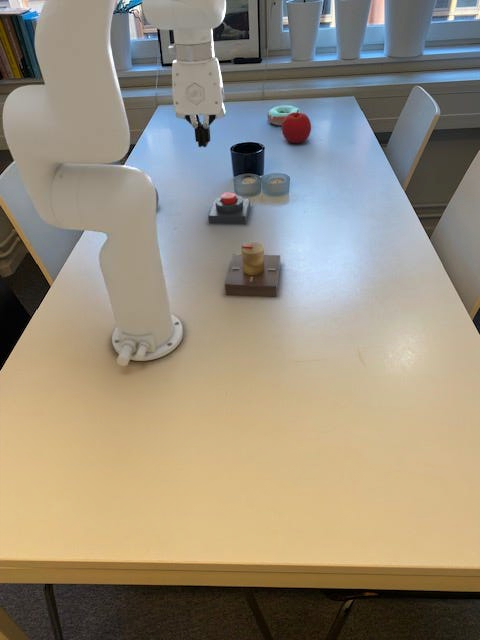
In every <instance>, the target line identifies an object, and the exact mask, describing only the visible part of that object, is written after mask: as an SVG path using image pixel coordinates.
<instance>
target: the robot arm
mask: <svg viewBox="0 0 480 640" xmlns="http://www.w3.org/2000/svg"><path fill="white" fill-rule="evenodd" d="M116 3H117V0H45V1H44V3H43V5H42V7H41V10H40V13H39V16H38V19H37V22H36V28H35V30H34V50H35V51H34V52H35V56H36V59H37V62H38V66H39V70H40V72H41V75H42V79H43V82H44V84H27V85H23V86H19V87H17V88H15V89H14V90H12V91H11V92H10V93H9V94H8V95H7V98H6V100H5V101H4V104H3V109H2V129H3V134H4V138H5V142H6V144H7V147H8V150H9V152H10V155H11V157H12V159H13V161H14V163H15V164H14V165H15V166H16V168H17V171H18V173H19V175H20V177H21V179H22V183H23V184H24V187H25V189H26V191H27V193H28V196H29V198H30V200H31V202H32V204H33V206H34V208H35V210H36V212H37V214H38V215H39V217H40V218H41V220H43V222H44V223H46V224H47V225H49V226H51V227H53V228H56V229H62V230H63V229H64V230H72V231H73V230H74V231H85V232H95V233H102V234H105V235H106V237H107V238H106V240H105V241H104V242H103V244H102V246H101V248H100V250H99V253H98V262H99V267H100V271H101V273H102V277H103V281H104V286H105V288H106V291H107V295H108V298H109V303H110V306H111V309H112V313H113V316H114V320H115V325H116V327H115V328H114V329H113V332H112V335H111V343H112V347H113V349H114V350H115V352H116V353H117V354H118V356H117V359H116V363H117V364H118V365H120V366H123V367H125V366H128V365H129V363H130V360H131V361H135V362H147V361H152V360H156V359H159V358H162V357H164V356H166V355H168V354H170V353H171V352H173V351H174V350H175V349H176V348H177V347H179V345H180V344H181V342H182V339H183V337H184V327H183V324H182V321H181V320H180V319H179V318H178V317H177V316H176V315H174V314H172V311H171V307H170V306H171V305H170V300H169V295H168V290H167V289H168V288H167V284H166V279H165V278H166V277H165V272H164V267H163V262H162V257H161V252H160V245H159V239H158V237H159V236H158V229H157V227H158V226H157V208H156V190H157V189H156V190H155V188H156V186H155V184H154V183H155V182H154V181H153V179H152V177H150V176H149V174H148V173H146V172H145V171H143V170H142V169H139V168H137V167H134V166H129V165H124V164H112V163H115V162H118V161H121V160H122V159H123V158H124V157H125V156H126V155H127V154H128V152H129V150H130V146H131V131H130V125H129V121H128V116H127V113H126V107H125V104H124V98H123V96H122V91H121V86H120V83H119V78H118V74H117V69H116V65H115V61H114V56H113V50H112V44H111V29H112V20H113V17H114V11H115V6H116ZM141 8H142V12H143V15H144V18H145V20H146V21H147V23H148V24H149V25H151V27H153V28H155V29H157V30H162V31H172V32H173V41H174V43H173V44H172V45H169V46H168V48H167V51H168V52H167V53H168V54H172V55H174V58H175V59H174V60H173V61H172V64H171V68H172V69H171V87H172V88H171V89H172V102H173V103H172V104H173V109H174V112H175V117H176V118H178V119H182V120H186V122H188V123H189V124H190V125H191V127H192V128H193V129H194V139H195V142H196V143H197V144H198V148H207V146H208V144H209V143H210V142H211V130H210V129H211V128H210V126H211V125H212V123H214V121H215V120H219V119H222V118H225V117H226V114H227V112H226V109H225V92H224V85H223V77H222V73H221V67H220V63H219V60H218V57H216V56H215V48H214V36H213V35H214V34H213V29H216V28H218V27H219V26H220V25H222V23H223V21H224V19H225V17H226V16H225V15H226V10H227V1H226V0H141ZM200 116H202V118H203V119H202V122H201V119H200Z"/></svg>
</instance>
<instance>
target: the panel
mask: <svg viewBox="0 0 480 640" xmlns="http://www.w3.org/2000/svg"><path fill="white" fill-rule="evenodd" d="M280 270H281V255H280V254H264V271H263V272H262V273H261V274H258V275H248V274H246V273H244V272H243V267H242V253H232V257H231V260H230V263H229V268H228V272H227V275H226V279H225V283H224V291H225V295H227V296H250V297H253V296H254V297H275V298H276V297H277V295H278V287H279V281H280V280H279V279H280Z"/></svg>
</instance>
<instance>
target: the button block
mask: <svg viewBox="0 0 480 640" xmlns="http://www.w3.org/2000/svg"><path fill="white" fill-rule="evenodd" d="M236 201H237V202H236V203H234V204H223V203H222V198H221V195H220V196H218V197H217V198H214V200H213V202H212V204H211V208H210V210H209V212H208V224H211V225H212V224H213V225H246V224H247V221H248V217H249V213H250V211H251V199H250V198H242V196H241V195H237V194H236Z"/></svg>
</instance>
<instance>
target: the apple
mask: <svg viewBox="0 0 480 640" xmlns="http://www.w3.org/2000/svg"><path fill="white" fill-rule="evenodd" d="M299 110H300V109H299ZM299 110H297V113H290V114H289V115H287V116H286V117H285V119H284V120H283V123H282V126H281V134H282V135H283V138H284V139H285V140H286V141H287V142H288V143H292V144H301V143H304V142H305V141H307V139H308V138H309V137H310V135H311V131H312V123H311V119H310V118H309V117H308V115H307V114H305V113H303V112H301V113H298V111H299Z"/></svg>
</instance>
